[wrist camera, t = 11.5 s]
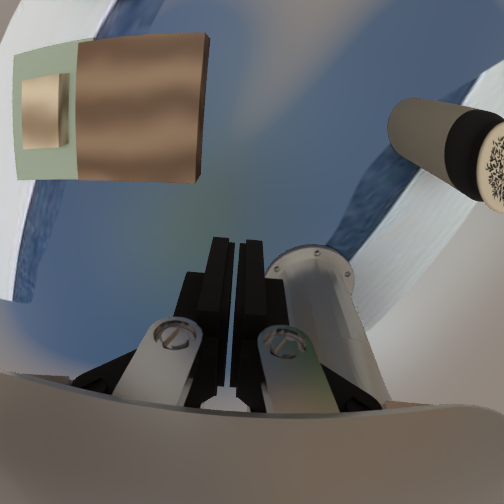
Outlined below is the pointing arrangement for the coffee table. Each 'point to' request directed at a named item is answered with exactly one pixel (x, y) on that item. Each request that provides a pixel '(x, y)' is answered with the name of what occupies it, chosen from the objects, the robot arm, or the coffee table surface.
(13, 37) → the coffee table surface
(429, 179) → the coffee table surface
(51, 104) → the maple tile
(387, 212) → the coffee table surface
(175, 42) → the walnut board
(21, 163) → the rubber mat
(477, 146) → the beige canister
